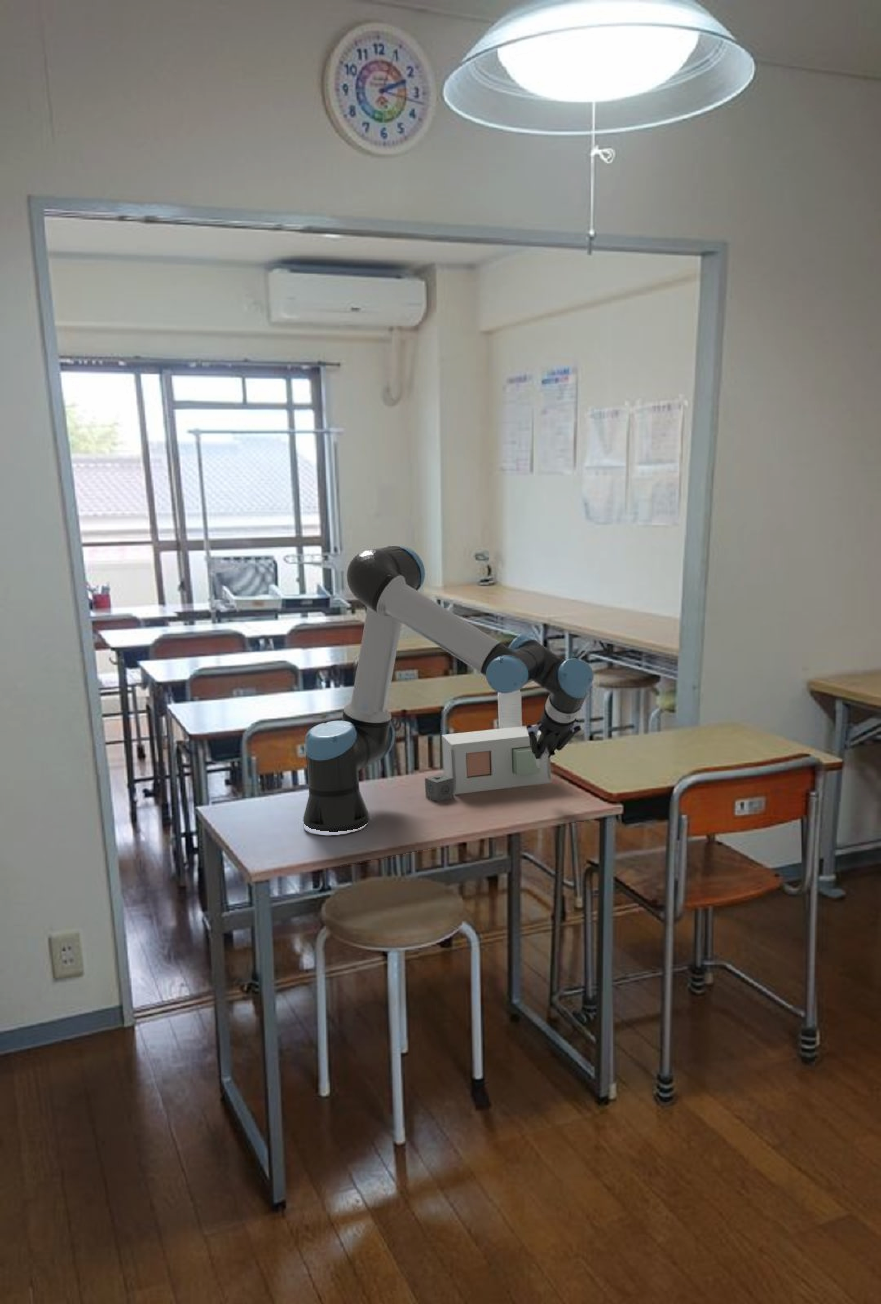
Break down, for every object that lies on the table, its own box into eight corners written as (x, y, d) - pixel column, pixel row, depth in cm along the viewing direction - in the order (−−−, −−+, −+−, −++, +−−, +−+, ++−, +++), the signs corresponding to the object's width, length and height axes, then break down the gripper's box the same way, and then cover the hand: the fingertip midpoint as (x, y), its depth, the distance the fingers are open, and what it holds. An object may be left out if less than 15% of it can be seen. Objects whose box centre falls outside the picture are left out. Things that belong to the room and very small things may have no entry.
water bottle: (495, 764, 254) (492, 676, 250) (513, 759, 258) (510, 672, 253) (515, 771, 247) (512, 680, 243) (533, 766, 250) (531, 677, 246)
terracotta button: (467, 776, 231) (466, 753, 230) (460, 769, 238) (459, 746, 237) (490, 774, 232) (489, 751, 231) (482, 766, 239) (481, 744, 238)
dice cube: (425, 797, 229) (424, 777, 229) (441, 792, 232) (441, 773, 231) (437, 801, 225) (436, 782, 225) (453, 797, 228) (452, 778, 227)
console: (453, 794, 230) (451, 744, 228) (444, 782, 240) (441, 734, 237) (550, 782, 236) (549, 733, 234) (537, 771, 245) (536, 724, 243)
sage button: (517, 775, 230) (516, 752, 229) (508, 767, 237) (507, 745, 236) (539, 772, 231) (539, 749, 230) (530, 765, 238) (529, 742, 237)
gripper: (537, 727, 199) (517, 779, 218) (593, 721, 202) (568, 773, 221) (529, 699, 204) (509, 752, 222) (583, 693, 206) (560, 746, 225)
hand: (539, 762), depth 222 cm, fingers closed
